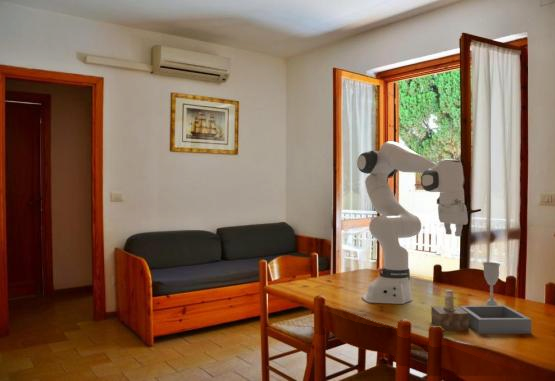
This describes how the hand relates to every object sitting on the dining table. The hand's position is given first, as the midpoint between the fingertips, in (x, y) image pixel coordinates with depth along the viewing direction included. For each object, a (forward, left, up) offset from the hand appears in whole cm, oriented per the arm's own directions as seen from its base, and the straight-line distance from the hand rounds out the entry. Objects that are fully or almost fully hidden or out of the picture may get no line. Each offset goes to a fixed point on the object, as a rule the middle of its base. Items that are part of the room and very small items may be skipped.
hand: (453, 235), depth 171 cm
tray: (+11, -9, -33) cm, 35 cm away
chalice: (+23, +19, -33) cm, 44 cm away
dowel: (-5, -9, -33) cm, 34 cm away
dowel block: (-5, -9, -33) cm, 34 cm away
